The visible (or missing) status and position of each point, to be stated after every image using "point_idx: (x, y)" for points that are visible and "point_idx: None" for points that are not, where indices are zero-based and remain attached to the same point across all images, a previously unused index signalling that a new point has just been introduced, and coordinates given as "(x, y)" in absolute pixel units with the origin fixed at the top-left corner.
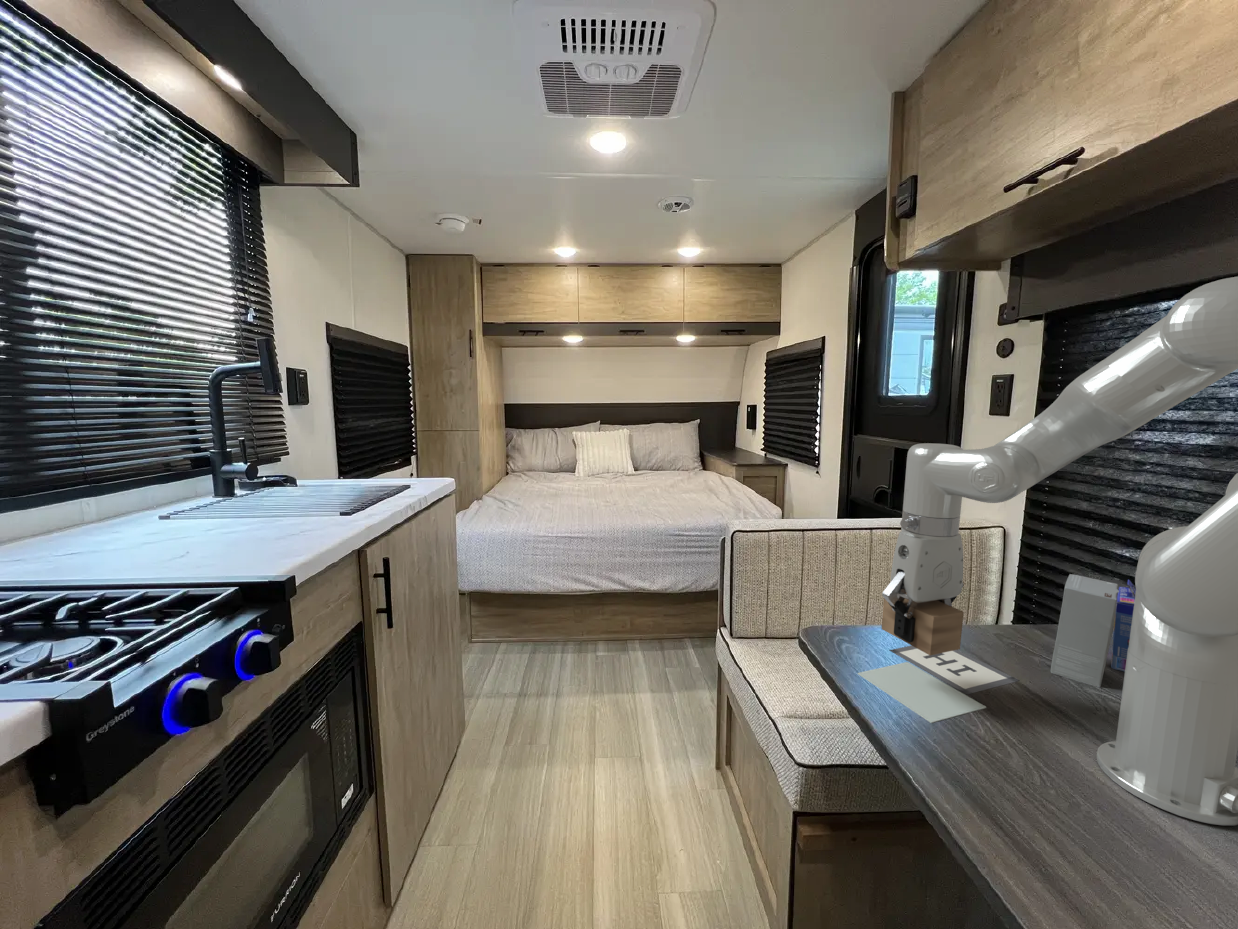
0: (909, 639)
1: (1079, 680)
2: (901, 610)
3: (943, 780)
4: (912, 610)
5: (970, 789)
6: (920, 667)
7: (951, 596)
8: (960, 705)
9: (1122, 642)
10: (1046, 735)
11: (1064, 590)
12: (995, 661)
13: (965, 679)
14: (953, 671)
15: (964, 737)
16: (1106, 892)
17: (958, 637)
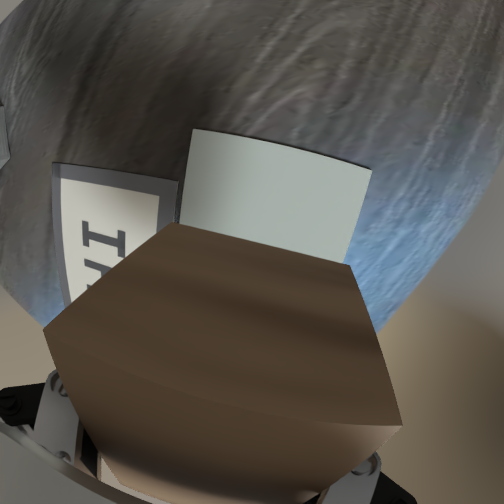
0: None
1: (4, 126)
2: (386, 485)
3: (491, 100)
4: (349, 482)
5: (477, 65)
6: None
7: (46, 467)
8: (240, 163)
9: None
10: (192, 26)
11: None
12: (37, 221)
13: (123, 216)
14: (119, 245)
15: (358, 104)
16: None
17: (160, 247)
